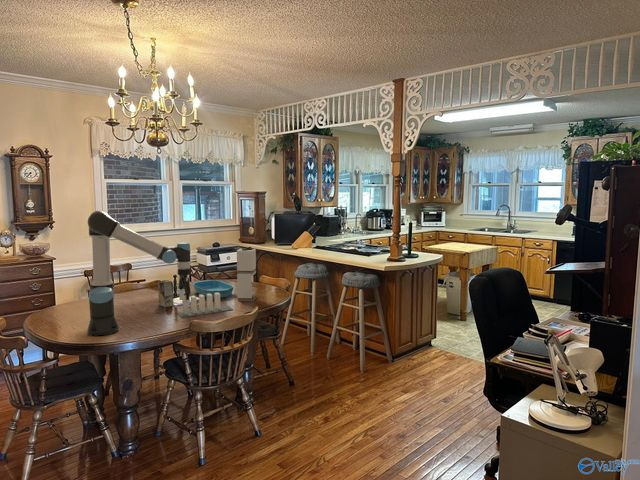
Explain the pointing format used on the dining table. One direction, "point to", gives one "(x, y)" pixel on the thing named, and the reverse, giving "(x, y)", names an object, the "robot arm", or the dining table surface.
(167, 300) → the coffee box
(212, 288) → the casserole dish
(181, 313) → the runner mat
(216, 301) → the domino
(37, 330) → the dining table surface
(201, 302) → the domino
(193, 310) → the domino
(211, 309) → the domino
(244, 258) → the gray square tower
